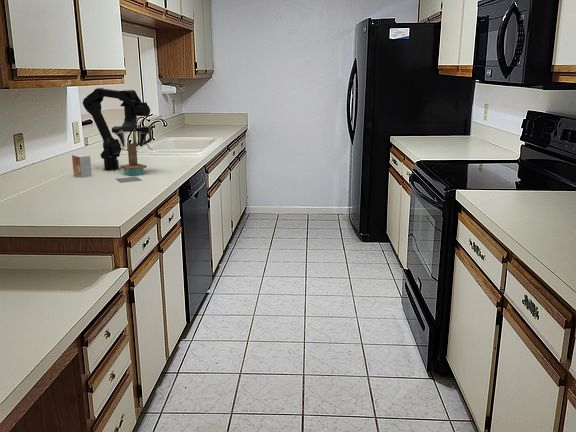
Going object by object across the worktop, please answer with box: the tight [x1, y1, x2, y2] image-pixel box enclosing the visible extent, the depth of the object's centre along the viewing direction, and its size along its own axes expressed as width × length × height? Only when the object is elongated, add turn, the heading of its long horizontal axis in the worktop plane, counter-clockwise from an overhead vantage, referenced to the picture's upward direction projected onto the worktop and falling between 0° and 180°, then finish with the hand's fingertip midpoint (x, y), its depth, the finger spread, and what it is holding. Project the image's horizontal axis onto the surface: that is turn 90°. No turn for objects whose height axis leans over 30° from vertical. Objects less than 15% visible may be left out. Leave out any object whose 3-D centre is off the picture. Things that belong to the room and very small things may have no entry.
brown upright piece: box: [119, 143, 147, 170], centre depth 274 cm, size 9×9×12 cm
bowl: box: [123, 168, 145, 177], centre depth 276 cm, size 9×9×4 cm
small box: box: [71, 153, 93, 178], centre depth 271 cm, size 8×6×10 cm
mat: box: [115, 176, 143, 184], centre depth 263 cm, size 10×10×1 cm
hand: (132, 146), depth 281 cm, fingers open, 9 cm apart
